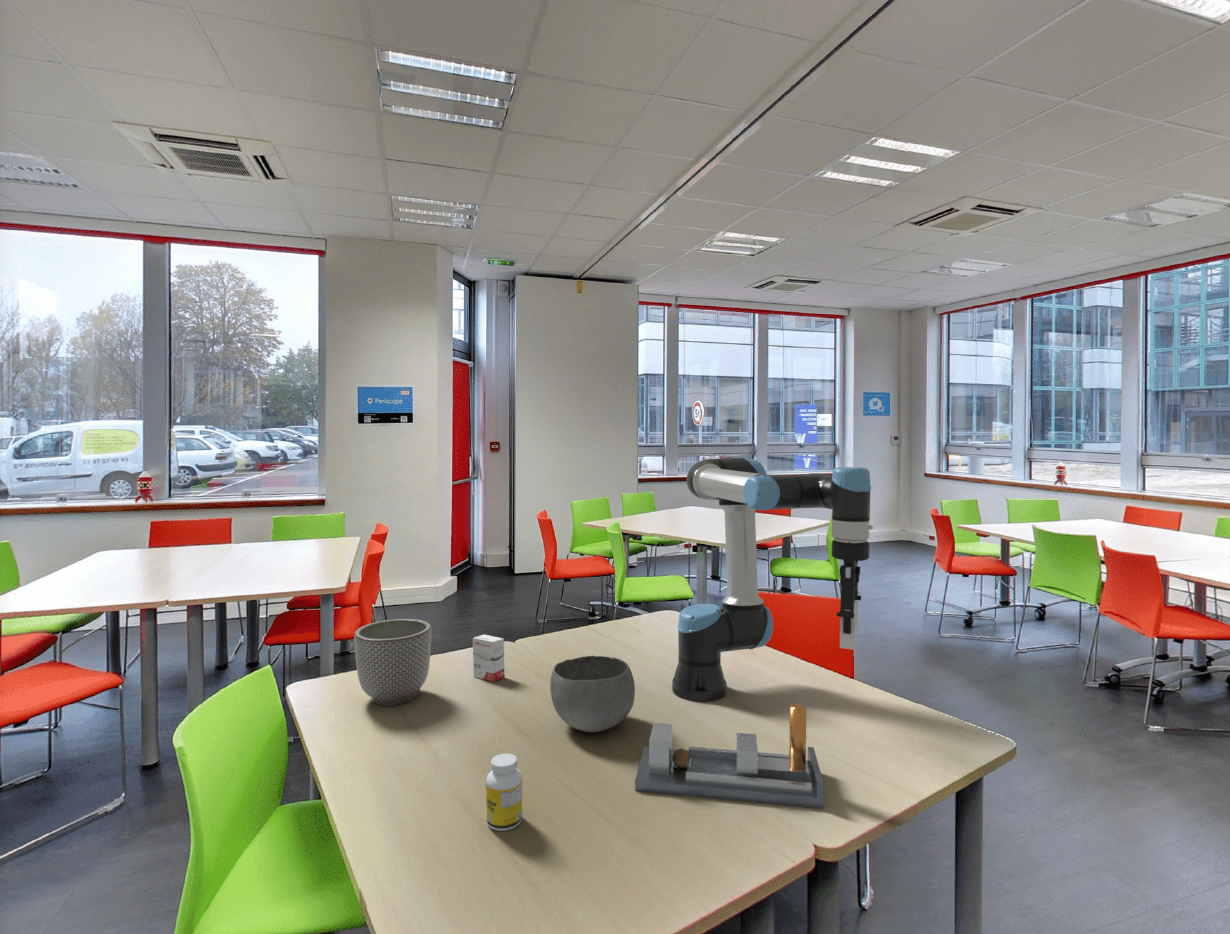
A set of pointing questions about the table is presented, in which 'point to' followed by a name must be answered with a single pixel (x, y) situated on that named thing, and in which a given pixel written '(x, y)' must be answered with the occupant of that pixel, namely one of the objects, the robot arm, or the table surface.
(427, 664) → the planter
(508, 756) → the pill bottle
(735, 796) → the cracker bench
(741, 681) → the table surface
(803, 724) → the ram handle
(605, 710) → the bowl
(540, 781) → the table surface
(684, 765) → the walnut
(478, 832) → the table surface
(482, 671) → the ink box
